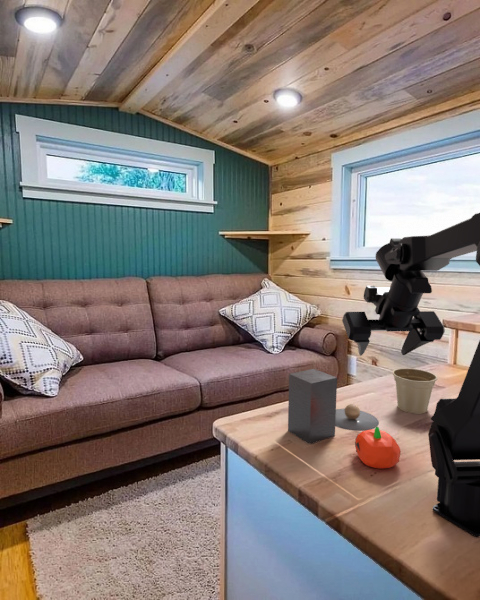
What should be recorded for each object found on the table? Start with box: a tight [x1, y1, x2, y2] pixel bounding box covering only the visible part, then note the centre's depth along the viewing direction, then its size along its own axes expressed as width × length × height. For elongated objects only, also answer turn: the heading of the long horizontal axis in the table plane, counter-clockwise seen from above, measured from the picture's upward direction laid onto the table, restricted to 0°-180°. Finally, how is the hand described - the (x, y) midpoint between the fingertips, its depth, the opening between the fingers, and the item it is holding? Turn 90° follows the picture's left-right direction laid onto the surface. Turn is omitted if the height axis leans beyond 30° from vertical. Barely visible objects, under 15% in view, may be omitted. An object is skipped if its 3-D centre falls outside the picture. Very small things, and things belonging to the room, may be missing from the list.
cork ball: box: [344, 403, 361, 420], centre depth 86 cm, size 3×3×3 cm
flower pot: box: [392, 367, 438, 415], centre depth 92 cm, size 9×9×9 cm
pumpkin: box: [354, 426, 402, 470], centre depth 69 cm, size 7×8×6 cm
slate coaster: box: [335, 408, 380, 432], centre depth 86 cm, size 11×11×1 cm
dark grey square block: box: [287, 368, 338, 445], centre depth 79 cm, size 6×6×12 cm
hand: (381, 353), depth 85 cm, fingers open, 9 cm apart
